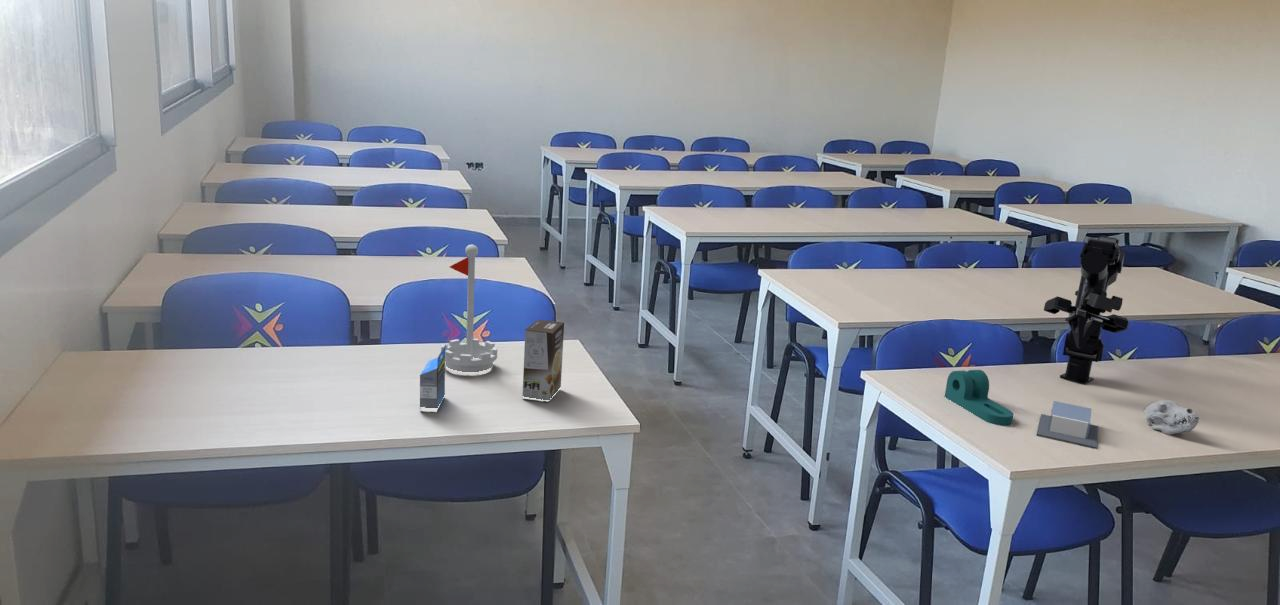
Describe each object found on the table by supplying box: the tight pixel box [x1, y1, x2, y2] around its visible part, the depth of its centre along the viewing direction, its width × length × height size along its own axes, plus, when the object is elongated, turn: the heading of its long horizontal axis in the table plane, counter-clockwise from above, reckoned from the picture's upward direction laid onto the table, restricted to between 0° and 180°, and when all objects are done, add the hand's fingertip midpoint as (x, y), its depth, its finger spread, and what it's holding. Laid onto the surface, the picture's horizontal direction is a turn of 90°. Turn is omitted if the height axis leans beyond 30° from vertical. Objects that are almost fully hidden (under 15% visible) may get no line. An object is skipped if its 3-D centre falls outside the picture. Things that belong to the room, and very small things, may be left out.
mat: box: [1036, 413, 1099, 450], centre depth 208 cm, size 14×12×1 cm
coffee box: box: [522, 319, 565, 400], centre depth 206 cm, size 9×6×16 cm
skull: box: [1143, 399, 1200, 435], centre depth 212 cm, size 8×9×12 cm
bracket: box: [944, 369, 1014, 427], centre depth 216 cm, size 18×7×8 cm, turn 19°
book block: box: [1048, 400, 1092, 439], centre depth 210 cm, size 4×8×11 cm
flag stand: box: [440, 244, 498, 372], centre depth 217 cm, size 13×13×30 cm
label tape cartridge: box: [419, 343, 447, 408], centre depth 196 cm, size 9×4×12 cm, turn 1°
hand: (1079, 348), depth 225 cm, fingers closed
